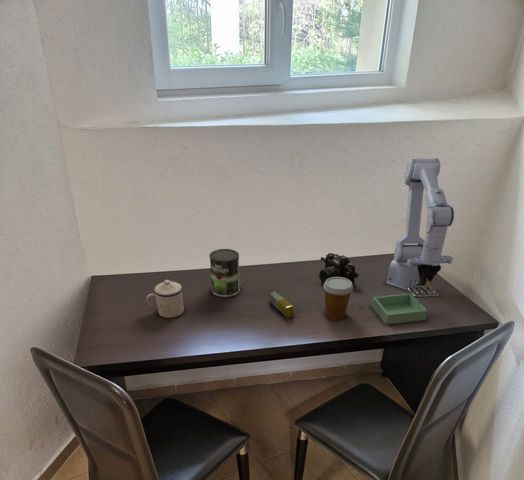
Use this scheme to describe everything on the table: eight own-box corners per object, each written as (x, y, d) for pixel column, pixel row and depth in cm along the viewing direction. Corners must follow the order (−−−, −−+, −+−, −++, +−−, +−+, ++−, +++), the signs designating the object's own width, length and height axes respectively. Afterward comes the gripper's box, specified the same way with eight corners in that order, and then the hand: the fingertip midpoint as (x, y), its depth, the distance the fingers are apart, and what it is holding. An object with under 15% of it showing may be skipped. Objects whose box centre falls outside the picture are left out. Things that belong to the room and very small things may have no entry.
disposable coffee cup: (331, 325, 150) (334, 292, 143) (315, 311, 157) (318, 280, 150) (355, 318, 154) (359, 285, 147) (338, 305, 160) (342, 273, 153)
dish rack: (414, 298, 149) (418, 284, 146) (405, 288, 155) (408, 274, 152) (439, 296, 151) (443, 282, 148) (428, 286, 156) (432, 273, 153)
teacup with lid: (184, 303, 161) (180, 273, 154) (184, 317, 154) (181, 286, 147) (149, 306, 159) (144, 276, 153) (148, 320, 152) (142, 289, 145)
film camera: (305, 280, 175) (307, 256, 169) (324, 269, 183) (326, 245, 177) (345, 295, 166) (348, 270, 160) (363, 283, 174) (366, 258, 168)
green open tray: (385, 325, 150) (387, 315, 148) (371, 307, 159) (373, 297, 157) (425, 321, 152) (427, 310, 150) (408, 303, 162) (411, 293, 159)
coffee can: (232, 299, 164) (231, 262, 155) (207, 294, 167) (204, 257, 158) (244, 286, 171) (243, 251, 163) (219, 281, 174) (217, 246, 166)
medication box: (270, 302, 162) (269, 293, 159) (276, 300, 163) (275, 290, 160) (287, 318, 153) (286, 308, 151) (294, 315, 154) (293, 305, 151)
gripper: (417, 252, 139) (408, 292, 147) (461, 248, 141) (450, 288, 149) (407, 243, 144) (399, 282, 152) (449, 239, 146) (440, 278, 154)
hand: (424, 284), depth 151 cm, fingers closed on dish rack
